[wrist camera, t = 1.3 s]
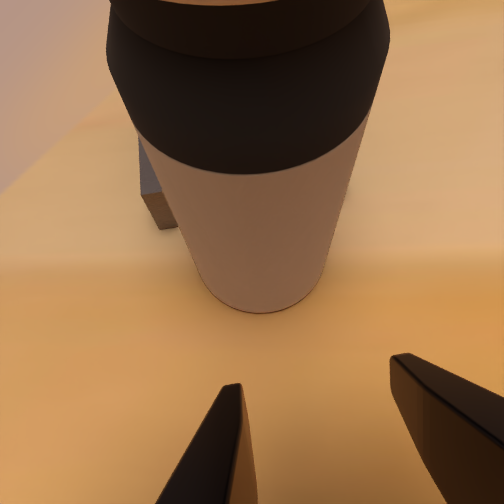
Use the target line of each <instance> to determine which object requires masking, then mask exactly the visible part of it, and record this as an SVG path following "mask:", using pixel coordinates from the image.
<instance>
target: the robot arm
mask: <svg viewBox="0 0 504 504" xmlns="http://www.w3.org/2000/svg"><path fill="white" fill-rule="evenodd" d="M390 386H391V392H392V395H393V398H394V400H395V402H396V404H397V406H398V409H399V411H400V413H401V415H402V417H403V420H404V422H405V424H406V426H407V428H408V431H409V433H410V435H411V437H412V439H413V441H414V444H415V446H416V448H417V450H418V452H419V454H420V456H421V459H422V461H423V463H424V464H425V466H426V468H427V470H428V472H429V473H430V475H431V477H432V479H433V480H434V482H435V484H436V485H437V487H438V489H439V490H440V492H441V494H442V495H443V497H444V499H445V501H446V502H447V504H504V397H502V396H500V395H498V394H496V393H493V392H491V391H489V390H487V389H485V388H483V387H481V386H479V385H476V384H474V383H472V382H470V381H468V380H466V379H464V378H462V377H460V376H457V375H455V374H453V373H451V372H449V371H447V370H445V369H443V368H440V367H438V366H436V365H434V364H432V363H430V362H428V361H426V360H424V359H421V358H419V357H417V356H415V355H413V354H411V353H403V354H397V355H393V356H391V358H390ZM155 504H258V498H257V484H256V475H255V467H254V459H253V451H252V443H251V435H250V427H249V419H248V413H247V408H246V403H245V398H244V392H243V388H242V385H241V384H240V383H235V384H230V385H225V386H223V387H222V388H221V390H220V392H219V394H218V395H217V397H216V399H215V401H214V402H213V404H212V406H211V408H210V409H209V411H208V413H207V414H206V416H205V418H204V420H203V421H202V423H201V425H200V427H199V428H198V430H197V432H196V434H195V435H194V437H193V439H192V440H191V442H190V444H189V446H188V447H187V449H186V451H185V453H184V454H183V456H182V458H181V460H180V461H179V463H178V465H177V466H176V468H175V470H174V472H173V473H172V475H171V477H170V479H169V480H168V482H167V484H166V486H165V487H164V489H163V491H162V492H161V494H160V496H159V498H158V499H157V501H156V503H155Z"/></svg>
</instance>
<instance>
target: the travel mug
mask: <svg viewBox="0 0 504 504" xmlns="http://www.w3.org/2000/svg"><path fill="white" fill-rule="evenodd" d="M109 1H110V3H111V8H110V16H109V25H108V34H107V44H106V55H107V63H108V66H109V70H110V72H111V75H112V77H113V79H114V82H115V84H116V86H117V88H118V91H119V93H120V95H121V97H122V100H123V102H124V104H125V106H126V109H127V111H128V113H129V115H130V118H131V120H132V122H133V124H134V127H135V129H136V131H137V133H138V136H139V138H140V140H141V142H142V145H143V147H144V149H145V152H146V154H147V156H148V158H149V161H150V163H151V165H152V167H153V170H154V172H155V174H156V176H157V179H158V181H159V183H160V185H161V188H162V190H163V192H164V194H165V197H166V199H167V201H168V203H169V206H170V208H171V210H172V212H173V215H174V217H175V219H176V221H177V224H178V226H179V228H180V230H181V233H182V235H183V237H184V239H185V242H186V244H187V246H188V248H189V251H190V253H191V255H192V257H193V260H194V262H195V264H196V266H197V269H198V271H199V273H200V275H201V278H202V280H203V282H204V283H205V285H206V286H207V288H208V289H209V290H210V291H211V293H212V294H213V295H214V296H216V297H217V298H218V299H219V300H221V301H222V302H224V303H225V304H227V305H229V306H231V307H233V308H236V309H239V310H242V311H246V312H253V313H267V312H274V311H278V310H282V309H285V308H287V307H289V306H292V305H293V304H295V303H297V302H299V301H300V300H301V299H303V298H304V297H305V296H306V295H307V294H308V293H309V292H310V291H311V290H312V289H313V288H314V286H315V285H316V283H317V282H318V280H319V278H320V276H321V274H322V271H323V268H324V264H325V261H326V258H327V254H328V251H329V247H330V244H331V241H332V237H333V234H334V231H335V227H336V224H337V221H338V217H339V214H340V211H341V207H342V204H343V201H344V197H345V194H346V191H347V187H348V184H349V180H350V177H351V174H352V170H353V167H354V164H355V160H356V157H357V154H358V150H359V147H360V144H361V140H362V137H363V134H364V130H365V127H366V124H367V120H368V117H369V114H370V110H371V107H372V103H373V100H374V97H375V93H376V90H377V87H378V83H379V80H380V77H381V73H382V70H383V67H384V63H385V60H386V57H387V53H388V49H389V43H390V29H389V22H388V18H387V14H386V10H385V6H384V3H383V0H109Z"/></svg>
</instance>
